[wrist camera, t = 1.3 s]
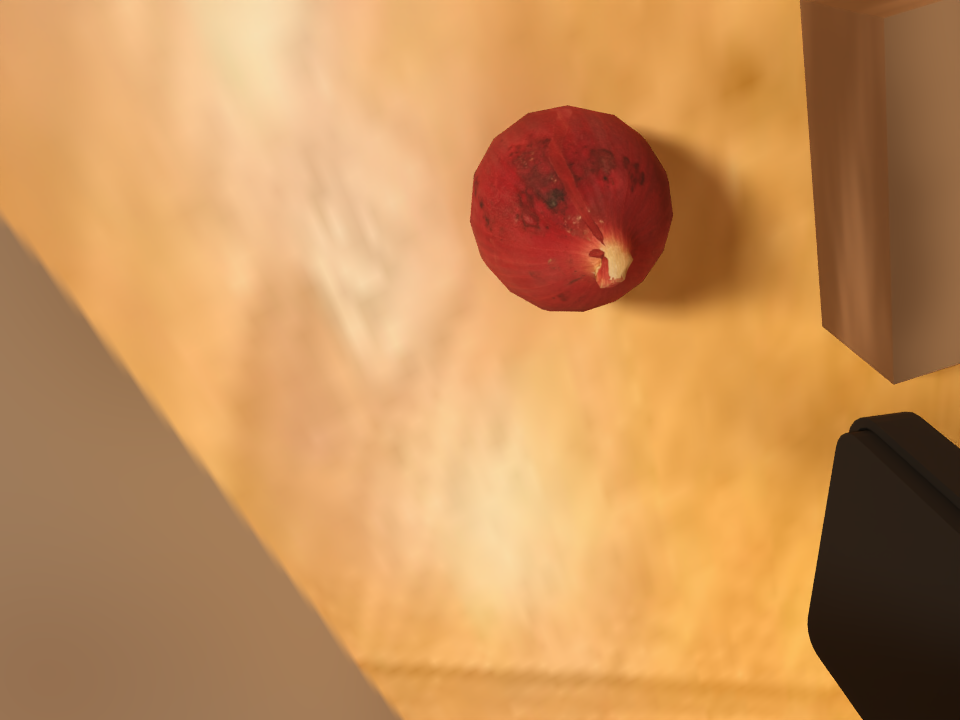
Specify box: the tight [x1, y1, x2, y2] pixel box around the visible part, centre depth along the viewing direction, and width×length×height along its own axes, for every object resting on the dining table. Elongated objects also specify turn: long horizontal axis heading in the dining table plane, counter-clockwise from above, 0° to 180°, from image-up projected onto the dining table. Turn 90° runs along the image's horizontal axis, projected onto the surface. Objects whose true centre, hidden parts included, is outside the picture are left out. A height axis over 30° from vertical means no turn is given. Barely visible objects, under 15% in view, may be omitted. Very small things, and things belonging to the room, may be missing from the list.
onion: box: [470, 105, 673, 312], centre depth 26 cm, size 6×6×8 cm
